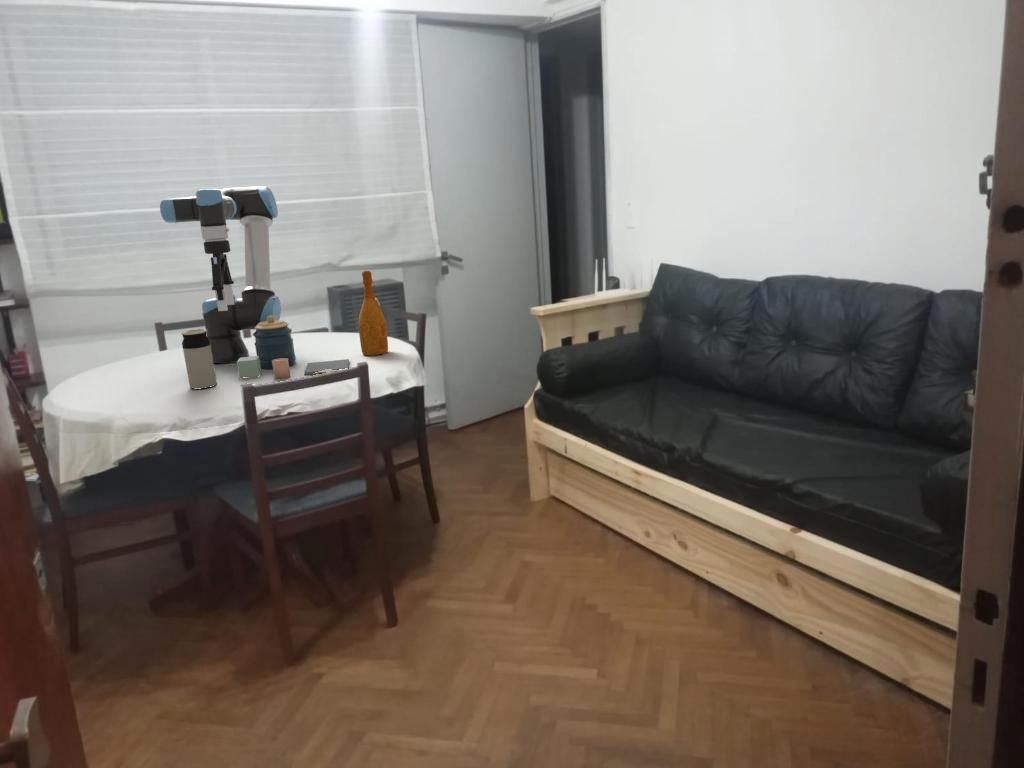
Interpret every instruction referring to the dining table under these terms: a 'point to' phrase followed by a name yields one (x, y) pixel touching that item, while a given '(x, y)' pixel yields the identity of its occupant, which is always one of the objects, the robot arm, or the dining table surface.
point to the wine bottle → (371, 322)
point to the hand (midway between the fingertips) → (226, 307)
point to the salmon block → (281, 368)
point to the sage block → (249, 366)
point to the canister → (273, 342)
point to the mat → (326, 366)
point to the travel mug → (198, 358)
